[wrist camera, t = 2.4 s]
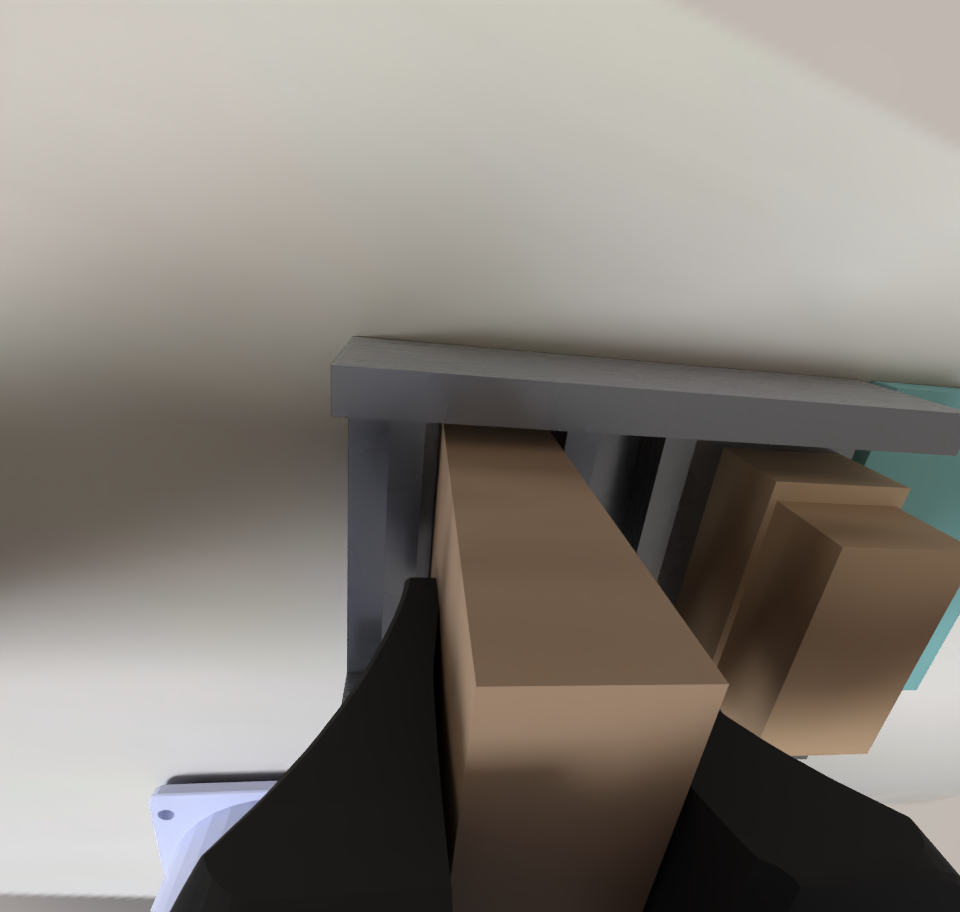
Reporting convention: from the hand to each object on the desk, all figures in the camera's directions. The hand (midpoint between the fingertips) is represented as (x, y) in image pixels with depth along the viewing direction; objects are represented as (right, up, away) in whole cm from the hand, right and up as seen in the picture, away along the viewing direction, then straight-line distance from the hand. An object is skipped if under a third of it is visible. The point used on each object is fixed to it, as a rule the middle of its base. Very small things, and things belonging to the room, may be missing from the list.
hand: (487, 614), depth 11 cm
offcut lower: (+8, +1, +4) cm, 9 cm away
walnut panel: (0, +1, +3) cm, 3 cm away
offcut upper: (+8, 0, +2) cm, 8 cm away
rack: (+3, +1, +4) cm, 5 cm away
